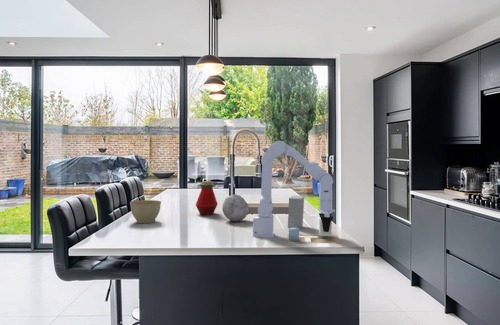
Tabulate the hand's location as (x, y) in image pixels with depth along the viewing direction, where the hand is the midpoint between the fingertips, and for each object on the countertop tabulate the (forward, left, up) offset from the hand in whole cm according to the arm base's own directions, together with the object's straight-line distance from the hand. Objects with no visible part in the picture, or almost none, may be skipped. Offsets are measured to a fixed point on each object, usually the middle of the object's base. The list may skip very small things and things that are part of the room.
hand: (325, 230), depth 160 cm
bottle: (-67, +51, -4) cm, 84 cm away
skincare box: (-13, +20, -4) cm, 24 cm away
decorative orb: (-46, +32, -4) cm, 56 cm away
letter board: (-6, -3, -3) cm, 7 cm away
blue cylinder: (-14, -7, -3) cm, 16 cm away
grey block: (0, 0, -1) cm, 1 cm away
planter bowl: (-94, +23, -4) cm, 97 cm away
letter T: (-8, -4, -3) cm, 9 cm away
